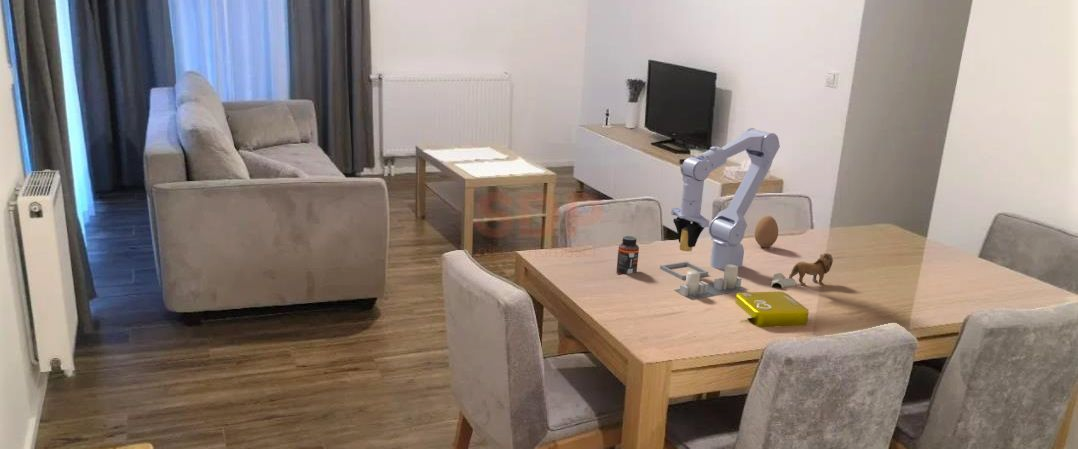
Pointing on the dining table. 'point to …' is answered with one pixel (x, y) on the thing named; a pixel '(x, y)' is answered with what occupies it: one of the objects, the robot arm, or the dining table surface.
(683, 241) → the cylinder
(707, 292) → the fuse block
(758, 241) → the egg
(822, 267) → the lion figurine
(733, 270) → the cream fuse
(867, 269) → the dining table surface
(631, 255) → the supplement bottle
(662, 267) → the grey tray
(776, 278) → the pipe fitting
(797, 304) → the element tile
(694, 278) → the cream fuse
